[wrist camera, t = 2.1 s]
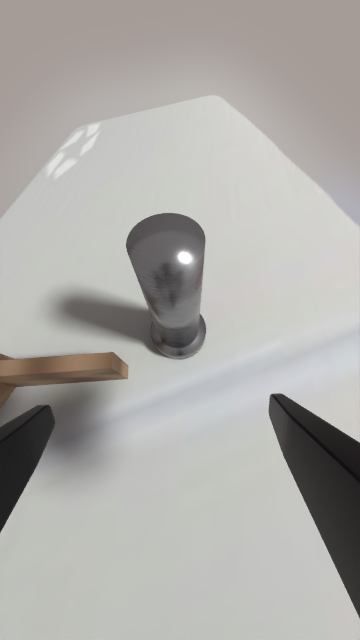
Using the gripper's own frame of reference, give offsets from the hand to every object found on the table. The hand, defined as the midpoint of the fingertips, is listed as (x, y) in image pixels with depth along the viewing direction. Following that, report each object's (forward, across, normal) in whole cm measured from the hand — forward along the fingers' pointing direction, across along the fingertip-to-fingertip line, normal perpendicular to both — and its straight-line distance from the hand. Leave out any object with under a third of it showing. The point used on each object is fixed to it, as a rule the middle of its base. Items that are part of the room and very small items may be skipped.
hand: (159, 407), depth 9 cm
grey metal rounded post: (+16, 0, +3) cm, 16 cm away
